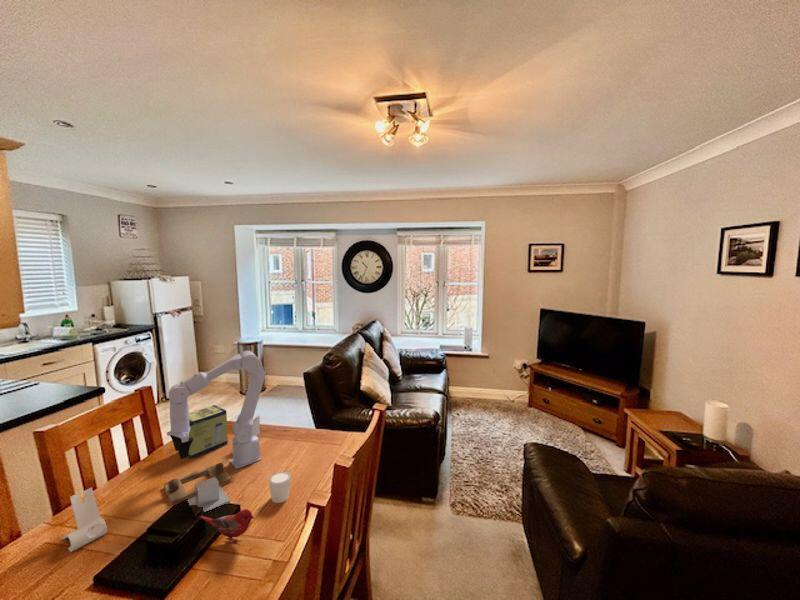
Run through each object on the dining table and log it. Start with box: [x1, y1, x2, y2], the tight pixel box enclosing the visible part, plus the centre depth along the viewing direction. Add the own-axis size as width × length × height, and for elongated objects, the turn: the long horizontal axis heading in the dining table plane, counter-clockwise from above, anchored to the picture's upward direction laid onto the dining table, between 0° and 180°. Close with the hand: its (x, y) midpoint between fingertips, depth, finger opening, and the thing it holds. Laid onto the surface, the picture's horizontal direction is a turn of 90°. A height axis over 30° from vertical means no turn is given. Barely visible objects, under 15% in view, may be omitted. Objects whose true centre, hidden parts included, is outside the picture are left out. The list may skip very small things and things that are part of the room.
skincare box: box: [252, 414, 261, 442], centre depth 148 cm, size 6×4×12 cm
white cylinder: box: [268, 471, 291, 504], centre depth 112 cm, size 7×7×7 cm
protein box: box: [187, 404, 229, 460], centre depth 144 cm, size 10×16×16 cm
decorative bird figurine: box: [198, 508, 255, 543], centre depth 94 cm, size 3×18×10 cm, turn 80°
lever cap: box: [194, 477, 219, 507], centre depth 109 cm, size 6×4×6 cm, turn 135°
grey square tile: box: [186, 486, 231, 512], centre depth 110 cm, size 10×10×1 cm
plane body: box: [163, 462, 232, 507], centre depth 119 cm, size 18×13×4 cm
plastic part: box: [60, 487, 108, 553], centre depth 95 cm, size 8×10×12 cm
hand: (181, 453), depth 122 cm, fingers open, 7 cm apart
